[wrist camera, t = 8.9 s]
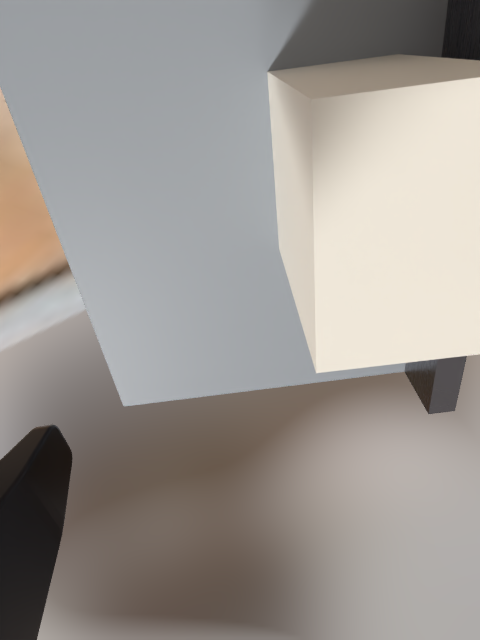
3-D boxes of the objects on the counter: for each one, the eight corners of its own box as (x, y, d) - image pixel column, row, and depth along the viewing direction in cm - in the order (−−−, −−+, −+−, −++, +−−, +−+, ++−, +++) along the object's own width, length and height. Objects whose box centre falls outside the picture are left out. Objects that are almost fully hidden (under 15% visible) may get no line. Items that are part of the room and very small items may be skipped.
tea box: (267, 71, 14) (311, 99, 8) (407, 52, 14) (575, 64, 8) (279, 248, 18) (316, 373, 11) (390, 235, 18) (495, 352, 11)
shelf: (131, 375, 25) (111, 452, 20) (-7, -19, 15) (-109, -45, 10) (413, 339, 24) (459, 410, 19) (467, -93, 14) (587, -157, 10)
